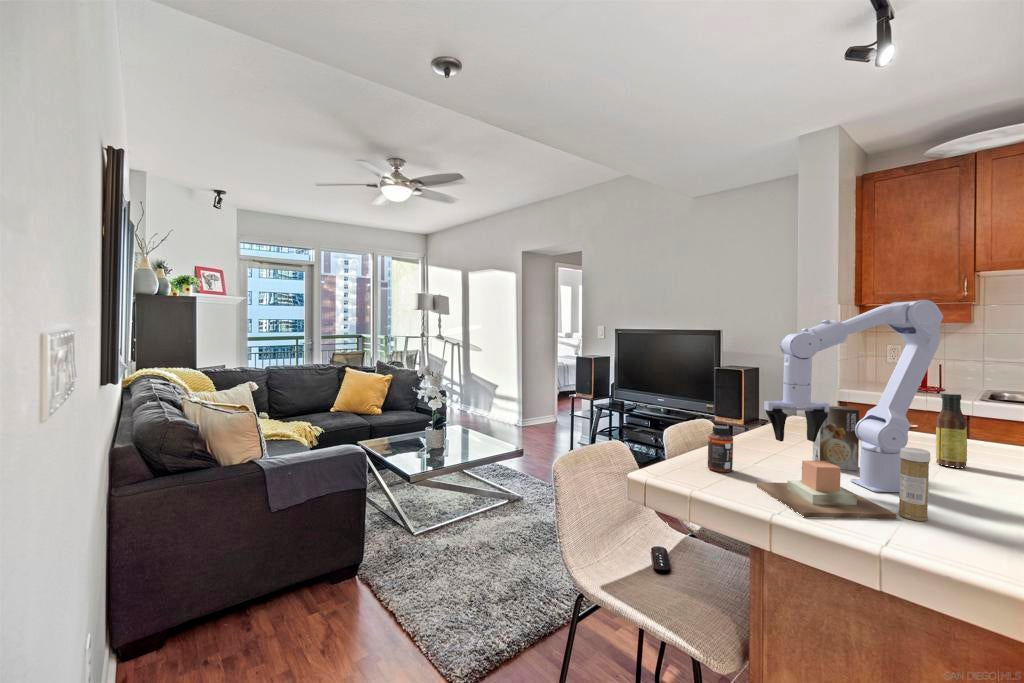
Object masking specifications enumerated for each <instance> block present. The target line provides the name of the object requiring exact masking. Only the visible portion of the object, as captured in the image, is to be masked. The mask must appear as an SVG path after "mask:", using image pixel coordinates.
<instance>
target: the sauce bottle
mask: <svg viewBox="0 0 1024 683" xmlns="http://www.w3.org/2000/svg"><path fill="white" fill-rule="evenodd" d="M940 396H941V397H940V398H941V400H942V401H941V403H942V404H941V411H940V412H939V413H938V414H937V416H936V427H935V458H936V464H937V463H939V464H942V465H948V466H954V467H965V466H966V467H967V462H968V434H967V433H968V424H967V422H966V421H967V420H966V419H965V417H964V415H963V412H962V409H961V401H962V394H960V393H953V392H942V393H941V394H940ZM939 464H938V465H939ZM966 467H965V468H966Z"/></svg>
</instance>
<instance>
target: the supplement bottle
mask: <svg viewBox="0 0 1024 683" xmlns="http://www.w3.org/2000/svg"><path fill="white" fill-rule="evenodd" d="M733 460H734V436H732V435H731V434H730V427H729V426H727V425H717V424H716V425H712V433H709V434H708V442H707V469H709V470H710V471H713V472H716V473H730V472H732V471H733V466H734V465H733V464H734V462H733Z"/></svg>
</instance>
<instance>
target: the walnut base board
mask: <svg viewBox="0 0 1024 683" xmlns="http://www.w3.org/2000/svg"><path fill="white" fill-rule="evenodd" d="M756 487H757V488H758V487H759V488H758V489H760V488H761V489H762V490H761V489H760V490H761V491H763V490H764V491H765V492H764V491H763V492H764V493H766V492H767V493H768V494H767V493H766V494H767V495H769V494H770V495H771V497H772V496H773V497H775V498H776V499H778V500H779V501H781V502H782V503H784V504H786V505H787V506H789V507H790V508H792V509H793V510H795V511H796V512H798V513H799V514H801V515H802V516H804V517H803V518H808V517H833V518H832V519H876V520H877V519H878V520H879V519H880V520H881V519H883V520H884V519H885V520H886V519H887V520H896V519H897V513H896V512H893V511H892V510H889V509H887V508H885V507H883V506H881V505H879V504H877V503H875V502H873V501H872V500H869V499H867V498H865V497H863V496H860V495H858V494H857V493H854V492H852V491H851V490H849V489H847V488H844V487H842V486H840V491H815V490H813V489H811V488H810V487H808V486H806V485H804V484H802V480H791V479H789V480H787V482H766V481H765V482H763V481H762V482H760V481H759V482H758V481H756ZM770 495H769V496H770ZM773 497H772V498H773ZM775 498H774V499H775ZM776 499H775V500H776ZM778 500H777V501H778ZM779 501H778V502H779ZM781 502H780V503H781ZM782 503H781V504H782ZM784 504H783V505H784ZM787 506H786V507H787ZM790 508H789V509H790ZM792 509H791V510H792ZM793 510H792V511H793ZM795 511H794V512H795ZM796 512H795V513H796ZM798 513H797V514H798ZM799 514H798V515H799ZM801 515H800V516H801ZM802 516H801V517H802Z"/></svg>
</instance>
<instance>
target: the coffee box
mask: <svg viewBox="0 0 1024 683" xmlns="http://www.w3.org/2000/svg"><path fill="white" fill-rule="evenodd" d="M824 412H826V413H828V417H827V418H826V420H825V421H824V422H823V424H822V426H821V427H820V430H819V432H818V435H817V438H816V441H815V442H812V458H811V459H812V460H811V461H827V462H829V463H831V464H834V465H836V466H838V467H840V468H841V470H845V469H847V470H849V471H859V462H860V461H859V460H860V458H859V457H860V456H859V454H860V452H859V450H860V449H859V447H860V444H859V443H860V440H859V439H858V437H857V436H856V433H855V427H856V424H857V423H858V422H859V421H860V409H857V408H855V407H851V406H843V405H829V411H824ZM847 470H846V471H847Z"/></svg>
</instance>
